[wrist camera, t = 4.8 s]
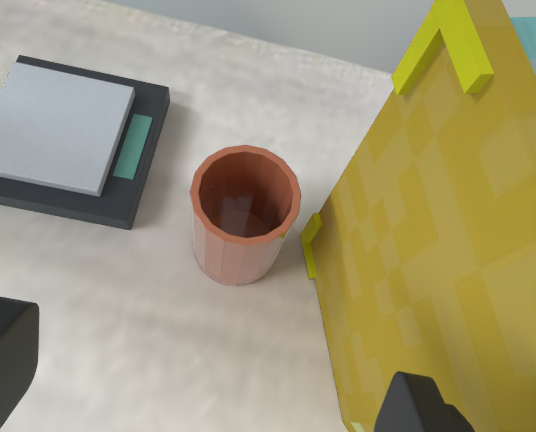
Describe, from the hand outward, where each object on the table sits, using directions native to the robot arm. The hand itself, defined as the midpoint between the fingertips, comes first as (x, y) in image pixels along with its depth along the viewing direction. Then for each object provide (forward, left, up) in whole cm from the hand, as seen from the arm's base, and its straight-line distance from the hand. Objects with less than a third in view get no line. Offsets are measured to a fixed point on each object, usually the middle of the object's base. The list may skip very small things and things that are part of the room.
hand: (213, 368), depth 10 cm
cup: (0, +12, -25) cm, 27 cm away
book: (+11, +7, -25) cm, 28 cm away
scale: (-15, +18, -25) cm, 34 cm away
